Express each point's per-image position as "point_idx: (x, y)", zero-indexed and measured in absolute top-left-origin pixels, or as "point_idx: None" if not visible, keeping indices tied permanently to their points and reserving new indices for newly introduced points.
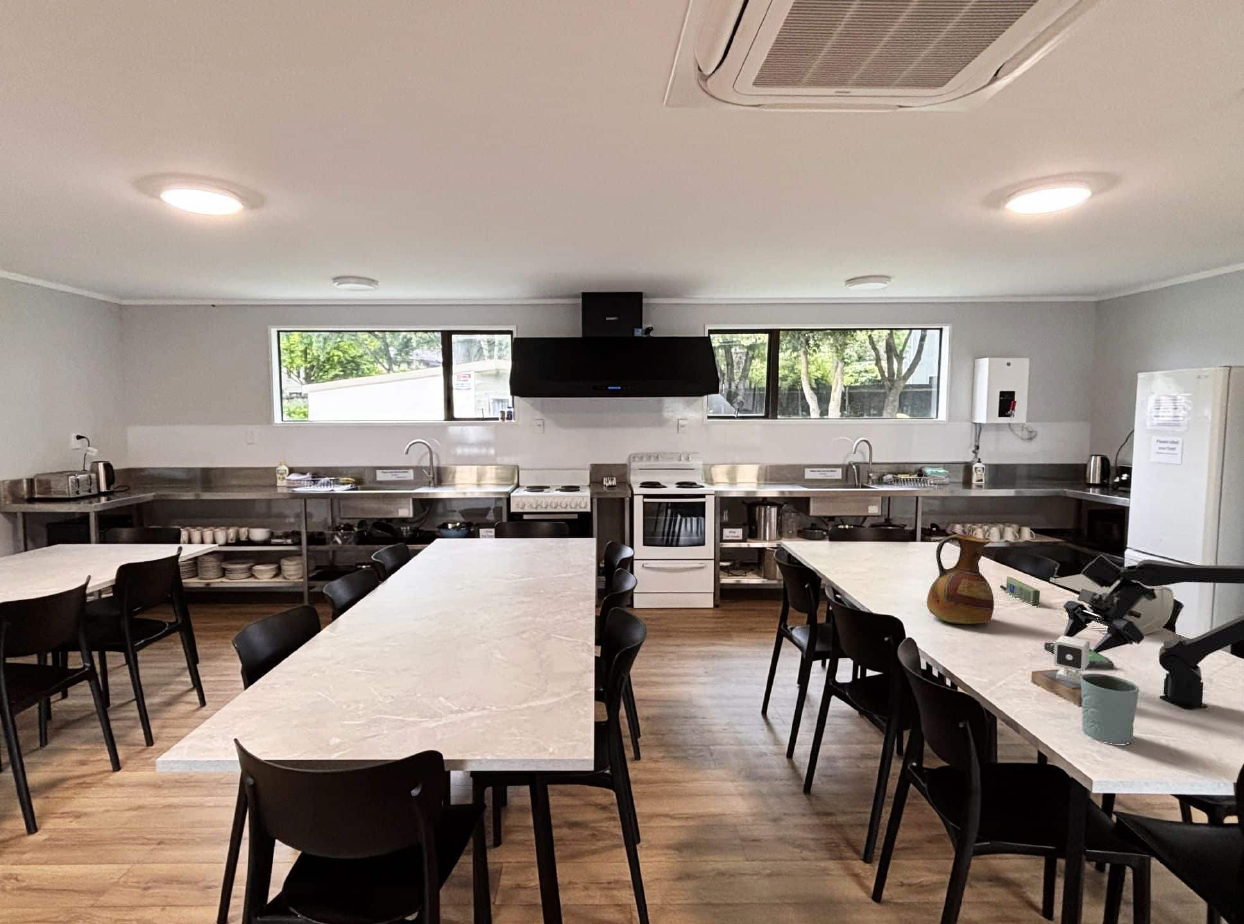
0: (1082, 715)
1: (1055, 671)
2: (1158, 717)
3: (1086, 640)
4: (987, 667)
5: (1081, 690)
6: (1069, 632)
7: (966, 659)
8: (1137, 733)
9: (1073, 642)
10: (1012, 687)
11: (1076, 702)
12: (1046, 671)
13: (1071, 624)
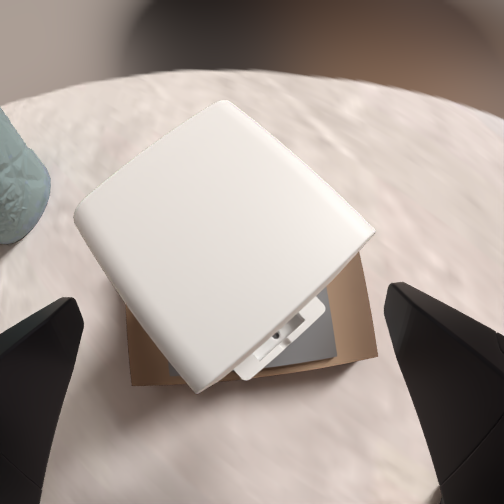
0: (29, 148)
1: (352, 310)
2: (58, 433)
3: (207, 371)
4: (445, 177)
5: (3, 112)
6: (418, 333)
7: (486, 162)
8: (4, 282)
9: (169, 194)
10: (296, 147)
11: None
12: (351, 270)
13: (483, 361)
